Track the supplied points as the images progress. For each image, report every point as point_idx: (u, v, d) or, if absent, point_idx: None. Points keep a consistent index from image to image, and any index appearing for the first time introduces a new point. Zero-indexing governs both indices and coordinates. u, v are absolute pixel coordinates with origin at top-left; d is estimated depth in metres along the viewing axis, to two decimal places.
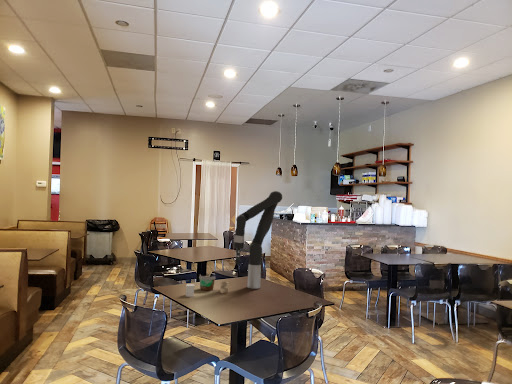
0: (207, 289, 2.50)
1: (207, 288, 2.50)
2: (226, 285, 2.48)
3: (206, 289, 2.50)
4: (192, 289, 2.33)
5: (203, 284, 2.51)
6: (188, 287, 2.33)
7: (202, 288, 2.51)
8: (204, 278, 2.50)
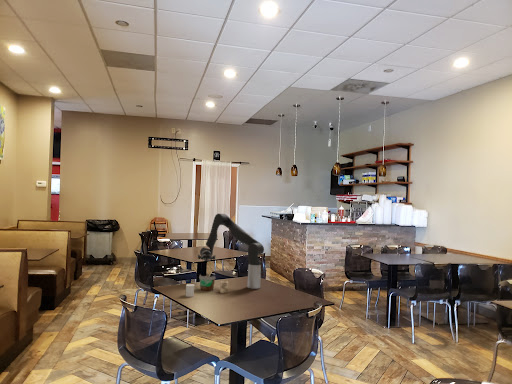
0: (207, 289, 2.50)
1: (207, 288, 2.50)
2: (226, 285, 2.48)
3: (206, 289, 2.50)
4: (192, 289, 2.33)
5: (203, 284, 2.51)
6: (188, 287, 2.33)
7: (202, 288, 2.51)
8: (204, 278, 2.50)
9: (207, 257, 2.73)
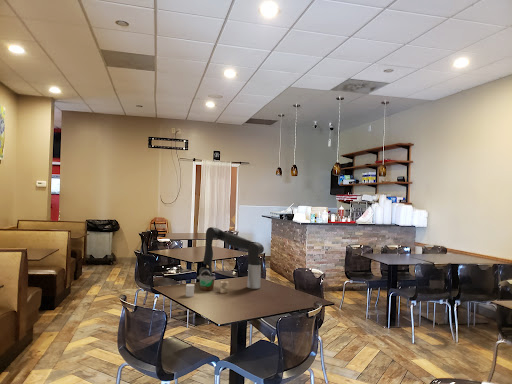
0: (207, 289, 2.50)
1: (207, 288, 2.50)
2: (226, 285, 2.48)
3: (206, 289, 2.50)
4: (192, 289, 2.33)
5: (203, 284, 2.50)
6: (188, 287, 2.33)
7: (202, 288, 2.51)
8: (204, 278, 2.50)
9: None
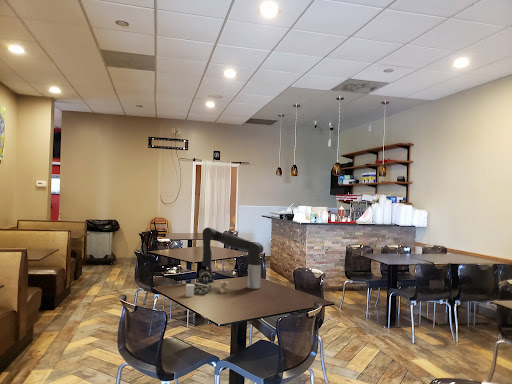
0: (206, 290, 2.48)
1: None
2: (226, 285, 2.48)
3: None
4: (192, 289, 2.33)
5: None
6: (188, 287, 2.33)
7: None
8: (199, 293, 2.41)
9: None
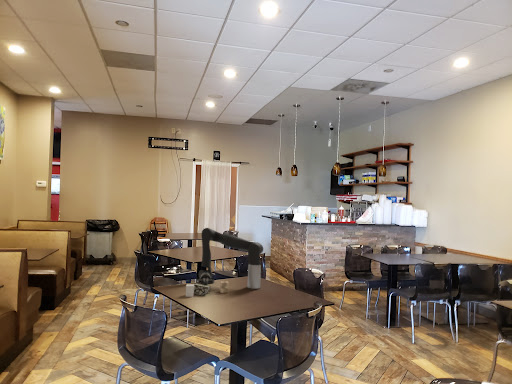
0: None
1: None
2: (226, 285, 2.48)
3: None
4: (192, 289, 2.33)
5: None
6: (188, 287, 2.32)
7: None
8: (199, 294, 2.38)
9: (204, 281, 2.52)
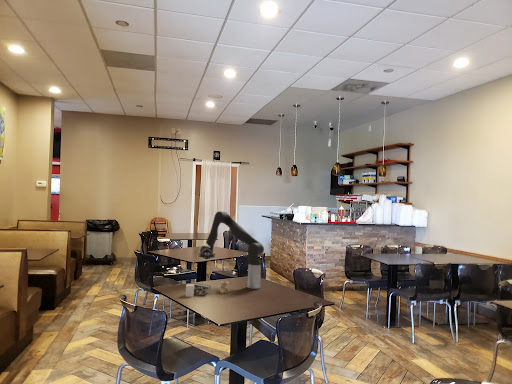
0: None
1: None
2: (226, 285, 2.48)
3: None
4: (192, 289, 2.33)
5: None
6: (188, 287, 2.32)
7: None
8: (199, 294, 2.38)
9: None
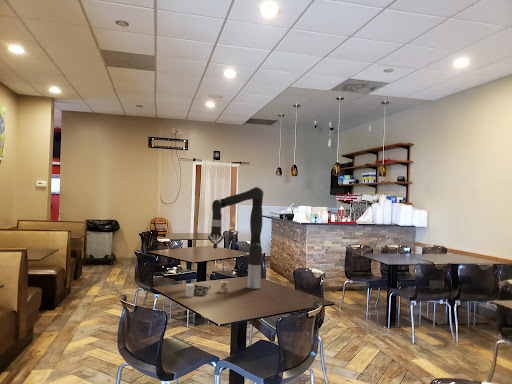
0: None
1: None
2: (226, 285, 2.48)
3: None
4: (192, 289, 2.33)
5: None
6: (188, 287, 2.32)
7: None
8: (199, 294, 2.38)
9: None
